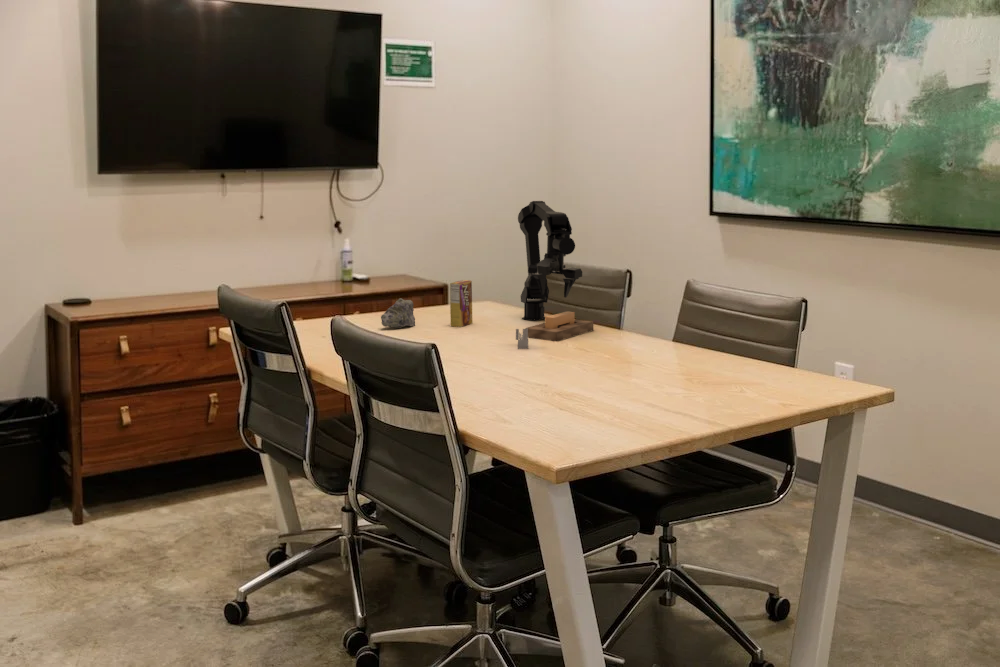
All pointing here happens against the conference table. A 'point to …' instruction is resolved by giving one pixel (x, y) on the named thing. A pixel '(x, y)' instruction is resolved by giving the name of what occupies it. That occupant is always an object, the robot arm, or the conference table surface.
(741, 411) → the conference table surface
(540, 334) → the wooden board with recesses
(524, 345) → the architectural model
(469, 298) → the candy box
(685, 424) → the conference table surface
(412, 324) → the mineral rock
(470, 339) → the conference table surface
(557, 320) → the orange brown flat block
